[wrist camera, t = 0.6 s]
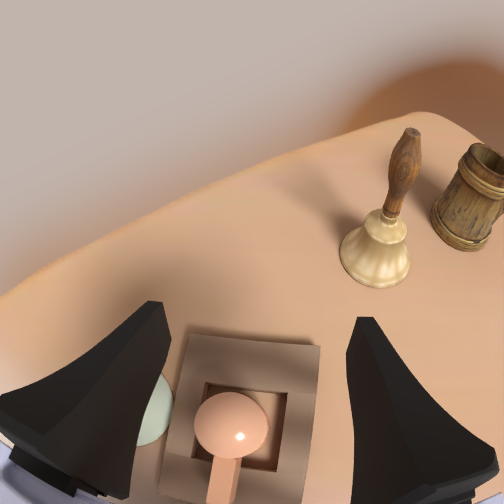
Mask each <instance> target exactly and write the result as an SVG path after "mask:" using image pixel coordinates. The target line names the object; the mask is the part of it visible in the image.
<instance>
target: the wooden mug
mask: <svg viewBox="0 0 504 504" xmlns="http://www.w3.org/2000/svg"><path fill="white" fill-rule="evenodd" d="M503 213H504V157H503V156H502V155H501V154H500V153H499V152H497V151H496V150H495V149H493V148H491V147H489V146H487V145H485V144H481V143H474V144H472V145H471V146H470V147H469V149H468V151H467V152H466V153H465V154H464V155H463V156H462V158H461V159H460V160H459V162H458V170H457V172H456V173H455V175H454V177H453V179H452V180H451V182H450V184H449V185H448V187H447V189H446V190H445V192H444V193H443V194H442V195H441V196H440V197H439V198H438V199H437V201H436V203H435V204H434V206H433V208H432V210H431V220H432V224H433V226H434V228H435V230H436V232H437V233H438V234H439V236H440V237H441V238H442V239H443V240H444V241H445V242H446V243H447V244H448V245H450V246H452V247H454V248H455V249H458V250H461V251H467V252H473V251H478V250H480V249H482V248H483V247H484V245H485V244H486V242H487V240H488V238H489V236H490V234H491V231H492V225H493V223H494V222H495V221H496V220H497V219H498V218H499V216H501V215H502V214H503Z"/></svg>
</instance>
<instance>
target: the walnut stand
mask: <svg viewBox="0 0 504 504" xmlns="http://www.w3.org/2000/svg"><path fill="white" fill-rule="evenodd" d="M319 359H320V346H316V345H300V344H286V343H274V342H263V341H253V340H243V339H235V338H226V337H218V336H210V335H203V334H196V333H190V334H189V339H188V343H187V347H186V352H185V356H184V360H183V365H182V369H181V374H180V378H179V383H178V387H177V392H176V397H175V402H174V406H173V411H172V416H171V421H170V426H169V431H168V436H167V441H166V446H165V452H164V457H163V462H162V468H161V474H160V479H159V485H158V491H157V493H158V494H161V495H164V496H168V497H171V498H174V499H178V500H181V501H185V502H189V503H192V504H208V503H206V498H207V493H208V487H209V482H210V476H211V470H212V465H213V461H212V460H207V459H203V458H198V457H196V452H197V447H198V439H197V437H196V434H195V429H194V421H195V416H196V413H197V411H198V409H199V408H200V406H201V405H202V404H203V403H204V402H205V401H206V399H207V394H208V388H209V385H215V386H221V387H227V388H234V389H241V390H249V391H257V392H266V393H276V394H287V395H288V396H287V404H286V411H285V419H284V426H283V433H282V440H281V447H280V453H279V460H278V466H277V470H268V469H260V468H252V467H245V466H241V467H240V473H239V479H238V484H237V490H236V496H235V500H234V502H233V503H232V504H301V502H302V497H303V491H304V485H305V479H306V473H307V466H308V459H309V452H310V445H311V437H312V430H313V421H314V412H315V403H316V393H317V383H318V371H319Z"/></svg>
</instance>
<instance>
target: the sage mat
mask: <svg viewBox="0 0 504 504" xmlns="http://www.w3.org/2000/svg"><path fill="white" fill-rule="evenodd" d="M173 406H174V402H173V395H172V391H171V389H170V386H169V384H168V382H167V380H166V379H165V377H164V376H163V375H162V374H160V376H159V379H158V381H157V384H156V386H155V388H154V391H153V393H152V396H151V398H150V401H149V403H148V406H147V408H146V411H145V414H144V417H143V421H142V425H141V429H140V432H139V436H138V441H137V446H143V445H147V444H150V443H152V442H154V441H155V440H157V439H158V438H159V437H160V436H162V435H163V433H164V432H165V431H166V429H167V428H168V426H169V424H170V421H171V416H172V411H173Z"/></svg>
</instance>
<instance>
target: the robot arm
mask: <svg viewBox="0 0 504 504" xmlns="http://www.w3.org/2000/svg"><path fill="white" fill-rule="evenodd" d="M171 340H172V339H171V335H170V331H169V327H168V323H167V319H166V315H165V311H164V307H163V303H162V302H156V301H147V302H146V303H145V304H143V305H142V306H141V307H140V308H139V309H138V310H137V311H136V312H134V313H133V314H132V315H131V316H130V317H129V318H128V319H127V320H125V321H124V322H123V323H122V324H121V325H120V326H119V327H117V328H116V329H115V330H114V331H113V332H112V333H110V334H109V335H108V336H107V337H106V338H104V339H103V340H102V341H101V342H99V343H98V344H97V345H96V346H94V347H93V348H92V349H90V350H89V351H88V352H86V353H85V354H84V355H82V356H81V357H79V358H78V359H76V360H75V361H73V362H72V363H70V364H69V365H67V366H65V367H63V368H62V369H60V370H58V371H56V372H55V373H53V374H51V375H49V376H47V377H45V378H43V379H41V380H39V381H37V382H35V383H32V384H30V385H28V386H25V387H22V388H20V389H17V390H14V391H11V392H8V393H5V394H1V396H0V432H1V433H2V434H3V435H4V436H5V437H6V438H8V439H9V440H10V441H11V442H12V443H14V444H15V445H14V447H13V449H12V448H10V447H9V446H8V445H6V444H5V443H3V442H2V441H1V440H0V504H113V503H110V502H108V501H105V500H103V499H100V498H98V497H97V495H98V494H99V495H102V496H104V497H107V495H109V496H112V497H114V498H117V499H120V500H123V499H126V498H128V497H129V490H130V481H131V473H132V467H133V461H134V455H135V450H136V446H137V441H138V436H139V432H140V429H141V425H142V421H143V417H144V414H145V411H146V408H147V406H148V403H149V401H150V398H151V396H152V393H153V391H154V388H155V386H156V384H157V381H158V379H159V376H160V374H161V372H162V369H163V367H164V364H165V362H166V358H167V355H168V351H169V347H170V343H171ZM346 372H347V383H348V390H349V397H350V404H351V411H352V419H353V426H354V471H353V485H352V495H351V503H350V504H472V502H471V499H473V498H474V497H475V488H477V487H479V486H480V485H482V484H484V483H485V482H487V481H489V480H490V479H492V478H493V477H495V476H496V475H497V474H498V472H499V470H500V469H499V465H498V461H497V456H496V452H495V449H494V448H493V447H491V446H490V445H488V444H487V443H485V442H484V441H482V440H481V439H479V438H478V437H476V436H475V435H473V434H472V433H471V432H469V431H468V430H467V429H466V428H464V427H463V426H462V425H461V424H459V423H458V422H457V421H456V420H455V419H454V418H453V417H452V416H450V415H449V414H448V413H447V412H446V411H445V410H444V409H443V408H442V407H441V406H440V405H439V404H438V403H437V402H436V401H435V400H434V399H433V398H432V397H431V396H430V394H429V393H428V392H427V391H426V390H425V389H424V388H423V387H422V385H421V384H420V383H419V382H418V380H417V379H416V378H415V377H414V375H413V374H412V373H411V371H410V370H409V369H408V367H407V366H406V365H405V363H404V362H403V360H402V359H401V358H400V356H399V355H398V353H397V352H396V351H395V349H394V348H393V346H392V345H391V343H390V342H389V340H388V339H387V337H386V336H385V334H384V332H383V331H382V329H381V328H380V326H379V325H378V323H377V322H376V320H375V319H374V318H373V317H357V320H356V323H355V326H354V330H353V333H352V336H351V339H350V342H349V345H348V348H347V351H346ZM475 504H504V499H503V493H502V492H500V493H498V494H496V495H493V496H491V497H489V498H487V499H484V500H482V501H479V502H477V503H475Z"/></svg>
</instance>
